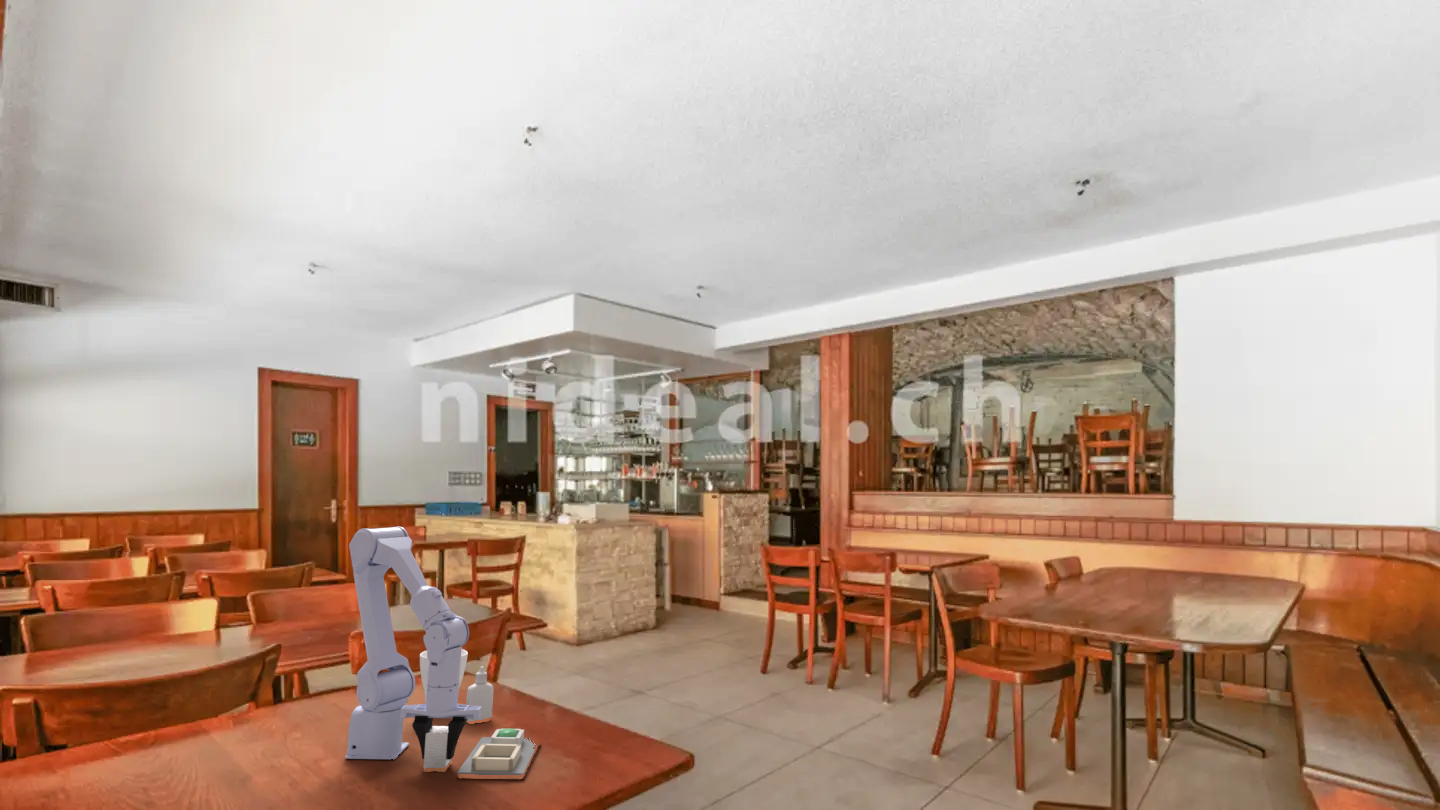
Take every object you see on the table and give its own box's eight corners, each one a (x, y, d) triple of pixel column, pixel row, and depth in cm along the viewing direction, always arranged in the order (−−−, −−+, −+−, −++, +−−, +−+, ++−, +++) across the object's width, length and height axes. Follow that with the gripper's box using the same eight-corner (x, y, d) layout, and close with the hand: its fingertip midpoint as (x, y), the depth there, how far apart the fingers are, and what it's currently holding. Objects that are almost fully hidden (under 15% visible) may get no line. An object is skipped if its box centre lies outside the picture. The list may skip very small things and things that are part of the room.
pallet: (456, 779, 137) (458, 759, 137) (481, 743, 155) (482, 726, 155) (523, 780, 137) (524, 761, 138) (540, 744, 155) (541, 727, 156)
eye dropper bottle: (468, 718, 169) (471, 663, 170) (493, 718, 170) (496, 664, 171) (463, 724, 165) (466, 669, 166) (488, 725, 165) (492, 669, 166)
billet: (423, 771, 139) (425, 733, 140) (430, 763, 143) (432, 725, 144) (445, 772, 140) (447, 733, 140) (451, 763, 144) (453, 726, 144)
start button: (497, 746, 149) (498, 733, 150) (501, 740, 153) (501, 728, 153) (513, 746, 150) (514, 734, 150) (516, 740, 153) (517, 728, 153)
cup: (405, 715, 170) (409, 654, 171) (441, 703, 179) (445, 645, 180) (437, 724, 165) (442, 661, 166) (473, 711, 174) (477, 652, 175)
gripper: (487, 678, 147) (482, 750, 146) (411, 676, 146) (406, 748, 145) (477, 689, 140) (472, 764, 139) (398, 687, 139) (393, 762, 138)
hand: (438, 757), depth 142 cm, fingers closed on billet, 4 cm apart
